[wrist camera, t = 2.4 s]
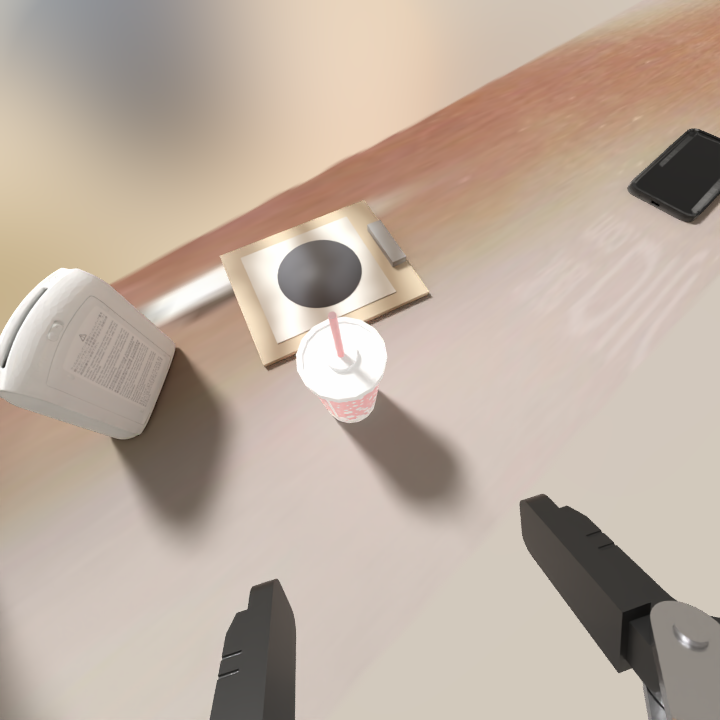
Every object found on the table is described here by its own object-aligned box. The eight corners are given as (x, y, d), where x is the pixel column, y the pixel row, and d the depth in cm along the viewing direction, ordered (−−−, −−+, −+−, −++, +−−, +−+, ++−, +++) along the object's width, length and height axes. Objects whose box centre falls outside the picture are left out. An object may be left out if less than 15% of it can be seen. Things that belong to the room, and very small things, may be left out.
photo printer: (143, 336, 35) (31, 250, 23) (183, 340, 34) (89, 254, 23) (100, 437, 30) (-61, 391, 19) (145, 442, 30) (7, 398, 19)
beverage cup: (395, 382, 31) (407, 291, 19) (366, 443, 29) (358, 386, 16) (336, 357, 33) (310, 256, 20) (305, 414, 30) (253, 340, 18)
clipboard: (265, 367, 33) (260, 361, 31) (221, 259, 38) (216, 250, 37) (428, 294, 35) (430, 286, 34) (364, 203, 41) (363, 194, 40)
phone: (757, 154, 41) (695, 219, 37) (747, 163, 42) (686, 227, 38) (691, 125, 43) (627, 183, 39) (683, 134, 44) (620, 192, 40)
